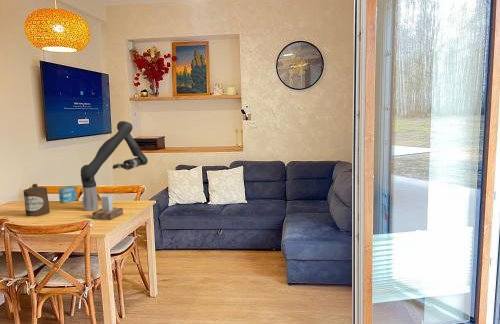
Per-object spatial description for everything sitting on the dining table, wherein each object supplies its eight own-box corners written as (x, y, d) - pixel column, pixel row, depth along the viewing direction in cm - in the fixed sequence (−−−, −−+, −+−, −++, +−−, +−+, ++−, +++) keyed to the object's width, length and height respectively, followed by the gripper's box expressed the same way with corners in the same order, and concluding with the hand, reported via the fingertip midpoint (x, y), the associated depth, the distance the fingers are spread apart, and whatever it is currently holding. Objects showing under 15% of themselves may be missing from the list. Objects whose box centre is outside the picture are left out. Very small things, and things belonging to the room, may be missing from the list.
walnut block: (92, 219, 250) (92, 212, 249) (105, 214, 263) (105, 207, 262) (110, 220, 246) (110, 213, 245) (123, 214, 260) (122, 208, 259)
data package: (63, 203, 295) (62, 188, 293) (59, 203, 297) (58, 188, 295) (76, 200, 306) (75, 185, 304) (72, 199, 308) (71, 185, 306)
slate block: (102, 211, 252) (101, 196, 250) (106, 209, 257) (104, 195, 255) (109, 211, 251) (108, 196, 250) (112, 209, 256) (111, 195, 255)
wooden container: (21, 217, 258) (18, 186, 255) (32, 211, 273) (29, 182, 270) (43, 216, 259) (40, 185, 256) (53, 210, 274) (50, 181, 271)
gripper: (121, 159, 285) (109, 162, 270) (138, 159, 282) (126, 162, 267) (122, 168, 287) (110, 172, 271) (139, 169, 283) (127, 172, 268)
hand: (118, 167), depth 269 cm, fingers open, 8 cm apart
